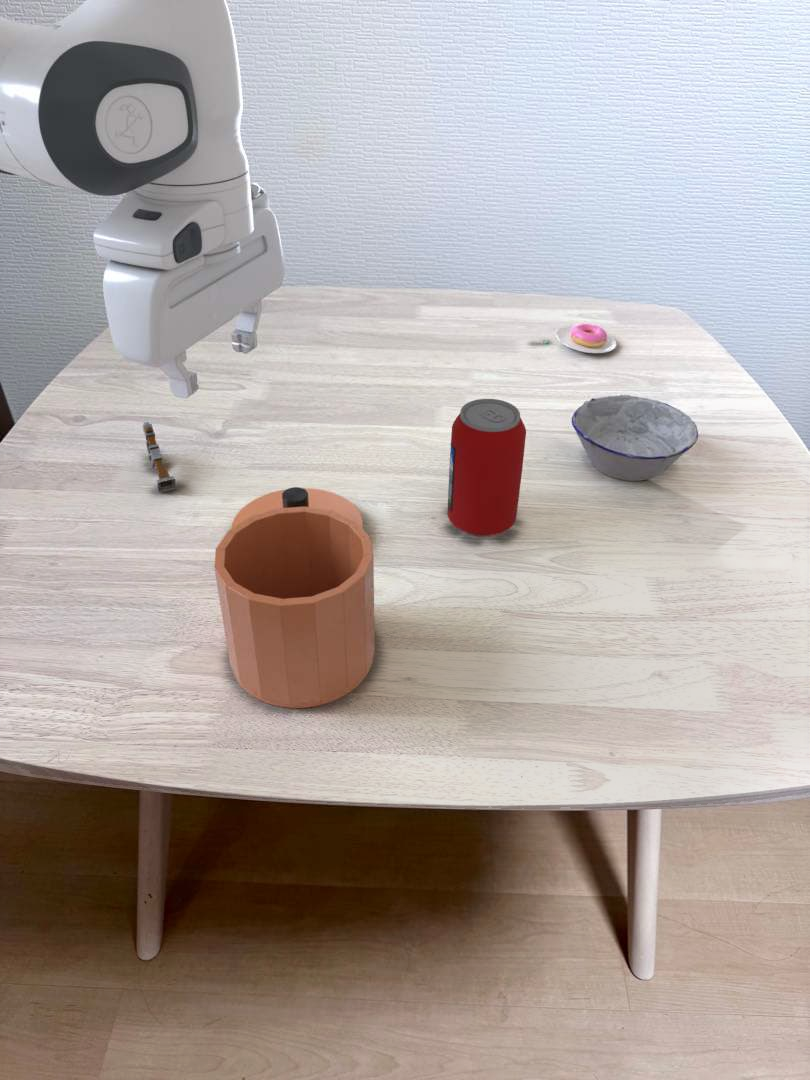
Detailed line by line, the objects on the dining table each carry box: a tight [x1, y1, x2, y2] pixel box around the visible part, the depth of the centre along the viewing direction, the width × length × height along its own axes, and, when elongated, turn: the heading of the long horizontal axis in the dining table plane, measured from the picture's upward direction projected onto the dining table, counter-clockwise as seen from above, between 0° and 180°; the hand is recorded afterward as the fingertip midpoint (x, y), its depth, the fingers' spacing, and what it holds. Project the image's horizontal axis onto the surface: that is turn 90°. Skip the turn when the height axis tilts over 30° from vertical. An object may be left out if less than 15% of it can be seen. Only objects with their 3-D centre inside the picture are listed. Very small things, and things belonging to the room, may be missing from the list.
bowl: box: [571, 394, 699, 482], centre depth 90 cm, size 13×13×5 cm
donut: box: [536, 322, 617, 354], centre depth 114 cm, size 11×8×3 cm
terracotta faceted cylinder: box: [214, 507, 376, 709], centre depth 65 cm, size 11×11×10 cm
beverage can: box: [447, 398, 527, 537], centre depth 79 cm, size 7×7×12 cm
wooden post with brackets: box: [142, 421, 177, 493], centre depth 88 cm, size 2×8×4 cm, turn 26°
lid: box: [230, 486, 364, 530], centre depth 79 cm, size 12×12×5 cm
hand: (216, 370), depth 75 cm, fingers open, 8 cm apart
